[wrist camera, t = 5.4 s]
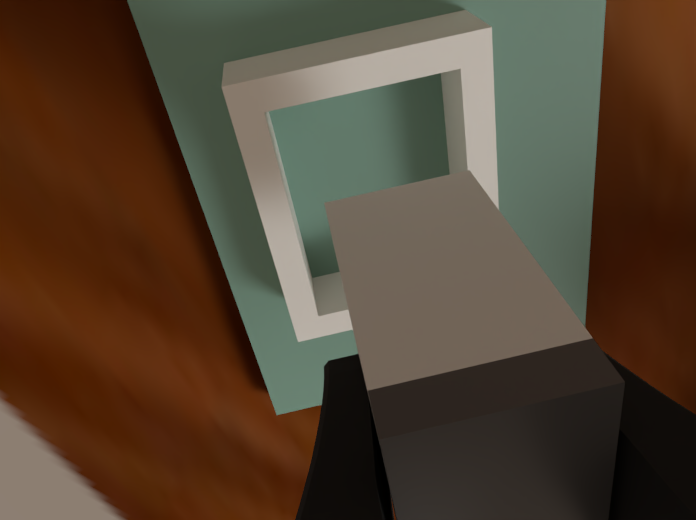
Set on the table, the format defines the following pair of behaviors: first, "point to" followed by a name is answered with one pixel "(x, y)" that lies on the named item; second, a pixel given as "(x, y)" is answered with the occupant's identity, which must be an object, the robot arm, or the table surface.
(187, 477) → the table surface
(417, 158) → the socket board
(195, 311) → the table surface
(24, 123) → the table surface
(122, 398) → the table surface
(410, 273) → the plug
